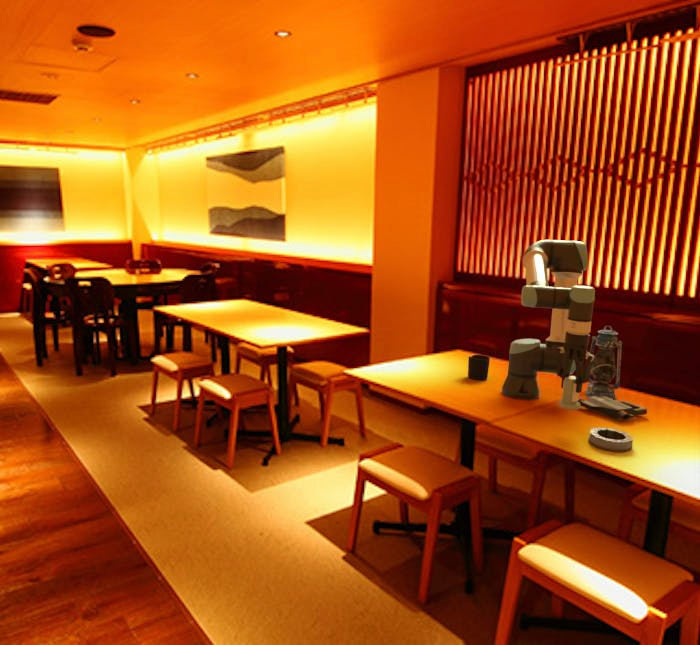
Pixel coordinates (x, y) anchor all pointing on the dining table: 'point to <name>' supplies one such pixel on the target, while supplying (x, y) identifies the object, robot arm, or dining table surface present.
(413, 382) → the dining table surface
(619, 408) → the camcorder
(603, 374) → the lantern
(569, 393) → the toggle switch lever
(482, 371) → the pen holder
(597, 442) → the barrel ring
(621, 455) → the dining table surface
